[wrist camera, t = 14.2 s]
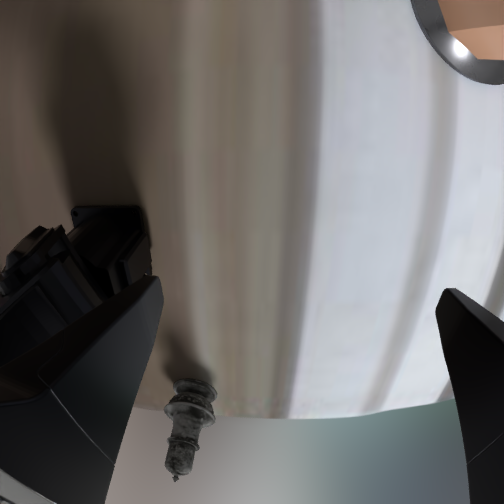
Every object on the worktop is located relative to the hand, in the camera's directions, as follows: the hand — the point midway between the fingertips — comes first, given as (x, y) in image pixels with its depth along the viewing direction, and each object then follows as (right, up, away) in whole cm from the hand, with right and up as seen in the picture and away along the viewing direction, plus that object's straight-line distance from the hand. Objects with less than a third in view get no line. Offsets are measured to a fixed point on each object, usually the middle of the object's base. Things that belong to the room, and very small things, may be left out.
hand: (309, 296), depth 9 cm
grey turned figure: (-8, -15, +25) cm, 31 cm away
